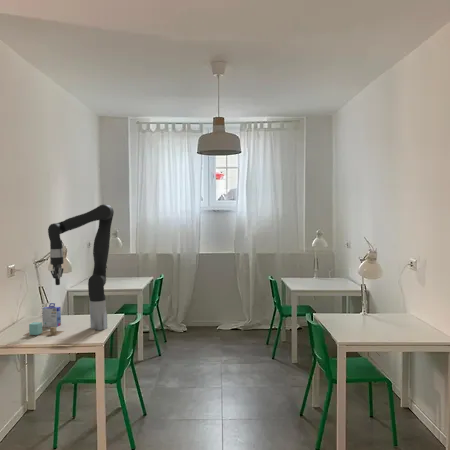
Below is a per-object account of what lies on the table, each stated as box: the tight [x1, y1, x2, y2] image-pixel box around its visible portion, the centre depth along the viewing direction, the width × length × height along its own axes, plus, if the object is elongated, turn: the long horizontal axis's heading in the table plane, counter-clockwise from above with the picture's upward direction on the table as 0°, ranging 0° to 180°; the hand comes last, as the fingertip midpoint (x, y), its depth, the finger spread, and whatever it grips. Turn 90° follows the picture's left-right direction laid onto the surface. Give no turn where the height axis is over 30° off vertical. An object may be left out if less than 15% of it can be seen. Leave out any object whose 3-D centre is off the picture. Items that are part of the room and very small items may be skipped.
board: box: [22, 330, 65, 337], centre depth 298 cm, size 20×11×1 cm, turn 83°
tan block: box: [49, 327, 58, 335], centre depth 294 cm, size 3×3×4 cm
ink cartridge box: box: [41, 302, 62, 328], centre depth 316 cm, size 10×6×14 cm, turn 81°
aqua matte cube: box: [28, 321, 43, 335], centre depth 295 cm, size 5×5×6 cm
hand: (57, 284), depth 310 cm, fingers closed
